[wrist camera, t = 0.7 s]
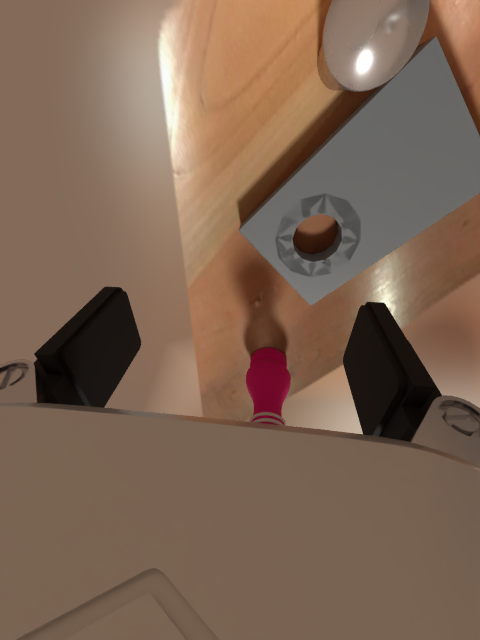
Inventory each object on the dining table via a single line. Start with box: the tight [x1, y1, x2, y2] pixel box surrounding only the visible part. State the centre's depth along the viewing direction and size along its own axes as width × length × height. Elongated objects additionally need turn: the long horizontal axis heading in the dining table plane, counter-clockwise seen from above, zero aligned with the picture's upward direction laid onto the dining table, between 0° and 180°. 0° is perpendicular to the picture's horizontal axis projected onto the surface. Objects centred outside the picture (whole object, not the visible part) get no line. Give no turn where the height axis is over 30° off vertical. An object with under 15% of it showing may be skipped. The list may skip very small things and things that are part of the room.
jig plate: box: [239, 36, 480, 305], centre depth 29 cm, size 22×14×2 cm, turn 135°
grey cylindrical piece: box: [317, 0, 430, 92], centre depth 20 cm, size 6×6×9 cm
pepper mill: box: [246, 348, 291, 426], centre depth 38 cm, size 7×7×20 cm
